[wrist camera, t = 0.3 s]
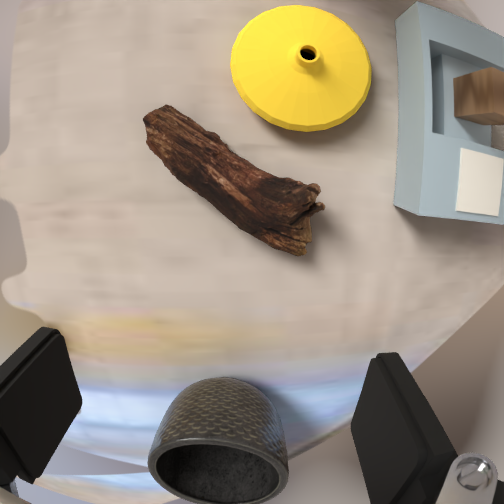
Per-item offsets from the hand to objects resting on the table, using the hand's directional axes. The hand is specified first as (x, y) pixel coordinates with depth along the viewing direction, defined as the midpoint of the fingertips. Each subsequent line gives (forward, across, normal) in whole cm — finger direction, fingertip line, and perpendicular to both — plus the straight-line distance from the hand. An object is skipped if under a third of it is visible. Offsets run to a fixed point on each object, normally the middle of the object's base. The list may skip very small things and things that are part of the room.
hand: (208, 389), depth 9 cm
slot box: (+31, -26, -15) cm, 43 cm away
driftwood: (+31, +1, -5) cm, 31 cm away
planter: (+31, +2, +29) cm, 42 cm away
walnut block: (+27, -26, -17) cm, 41 cm away
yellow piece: (+31, -5, -17) cm, 36 cm away
